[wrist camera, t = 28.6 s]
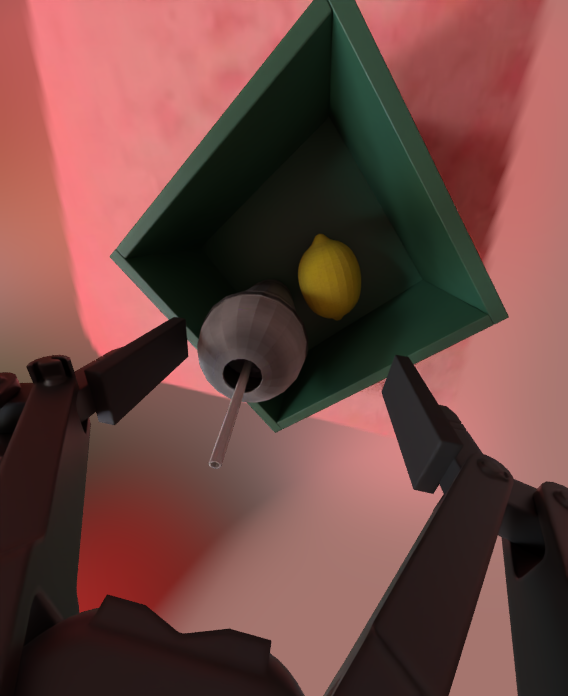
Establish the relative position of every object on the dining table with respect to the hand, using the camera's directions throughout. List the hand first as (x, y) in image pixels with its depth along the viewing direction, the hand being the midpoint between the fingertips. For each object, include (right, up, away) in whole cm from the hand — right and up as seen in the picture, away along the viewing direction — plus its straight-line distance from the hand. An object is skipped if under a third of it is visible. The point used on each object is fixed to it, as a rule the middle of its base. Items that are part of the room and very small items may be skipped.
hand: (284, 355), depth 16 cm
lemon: (+3, +10, +6) cm, 12 cm away
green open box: (+2, +9, +10) cm, 14 cm away
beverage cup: (-1, +6, +12) cm, 13 cm away
